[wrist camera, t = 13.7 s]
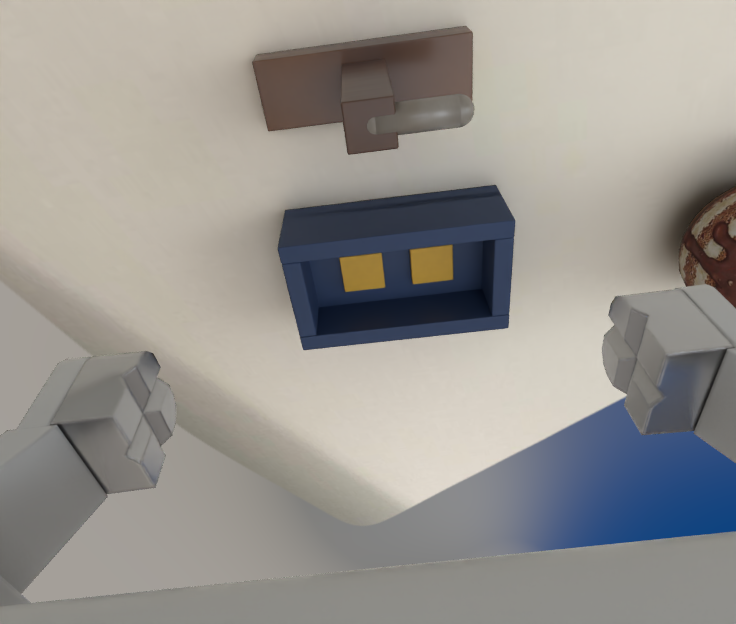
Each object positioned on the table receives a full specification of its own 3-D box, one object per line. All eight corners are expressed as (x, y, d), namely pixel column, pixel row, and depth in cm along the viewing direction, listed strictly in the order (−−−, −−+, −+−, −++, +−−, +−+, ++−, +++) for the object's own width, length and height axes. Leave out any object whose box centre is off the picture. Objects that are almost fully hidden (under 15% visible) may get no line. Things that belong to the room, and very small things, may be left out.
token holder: (307, 307, 34) (303, 350, 31) (284, 209, 30) (277, 248, 27) (492, 286, 34) (508, 328, 30) (496, 184, 30) (515, 220, 26)
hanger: (271, 121, 27) (250, 183, 21) (256, 54, 25) (228, 100, 19) (466, 96, 27) (502, 151, 21) (466, 25, 25) (505, 64, 19)
